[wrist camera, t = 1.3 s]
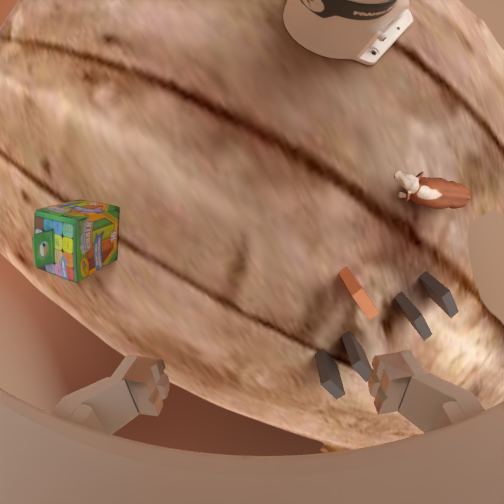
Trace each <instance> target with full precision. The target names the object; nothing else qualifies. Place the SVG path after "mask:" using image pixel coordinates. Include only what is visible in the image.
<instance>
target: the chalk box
mask: <svg viewBox="0 0 504 504" xmlns="http://www.w3.org/2000/svg"><path fill="white" fill-rule="evenodd" d="M34 219H35V221H34V230H35V234H34V235H33V237H32V241H33V253H34V263H35V267H36V268H38V269H41V270H43V271H46V272H48V273H51V274H54V275H56V276H59V277H62V278H64V279H67V280H70V281H73V282H75V283H79V282H80V281H81V280H83V279H84V278H86V277H88V276H89V275H91V274H92V273H94V272H96V271H97V270H99V269H101V268H102V267H104V266H106V265H107V264H109V263H111V262H112V261H114V260H116V259H117V239H118V221H119V207H117V206H112V205H107V204H102V203H96V202H90V201H85V200H76V201H71V202H66V203H62V204H57V205H53V206H49V207H45V208H41V209H37V210H36V212H35V218H34Z"/></svg>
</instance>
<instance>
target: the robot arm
mask: <svg viewBox="0 0 504 504" xmlns="http://www.w3.org/2000/svg"><path fill="white" fill-rule="evenodd" d="M409 5H410V2H409V0H287V2H286V5H285V8H284V11H283V20H284V24H285V27H286V29H287V31H288V32H289V34H290V35H291V36H292V37H293V38H294V40H296V41H297V42H298V43H299V44H300V45H302V46H303V47H305V48H306V49H308V50H310V51H312V52H314V53H316V54H319V55H322V56H325V57H329V58H336V59H352V60H355V61H358V62H360V63H363V64H366V65H374V64H375V63H376V62H377V61H378V60H379V59H380V58H381V57H382V56H383V54H384V53H385V52H386V51H387V50H388V49H389V48H390V47H391V46H392V45H393V43H394V42H395V41H396V40H397V39H398V38H399V37H400V36H401V35H402V34H403V33H404V31H405V30H406V29H407V28H408V27H409V26H410V25H411V24H412V22H413V17H412V15H411V13H410V11H409V9H408V7H409ZM371 52H373V53H374V54H375V55H373V54H372V53H371ZM372 366H373V368H374V369H373V370H372V371H371V372H370V375H369V381H368V386H369V391H370V394H371V395H372V396H373V397H375V401H374V404H375V407H376V410H377V412H378V414H384V413H390V412H396V411H398V412H399V413H400V414H401V415H403V416H404V417H405V418H406V419H408V420H409V421H410V422H411V423H413V424H414V425H415V426H417V427H418V428H419V429H421V430H422V431H423V432H424V434H420V435H417V436H413V437H410V438H406V439H402V440H398V441H394V442H390V443H385V444H381V445H376V446H370V447H365V448H359V449H353V450H347V451H339V452H331V453H322V454H310V455H295V456H237V455H220V454H210V453H200V452H192V451H184V450H178V449H172V448H165V447H161V446H155V445H151V444H146V443H141V442H136V441H133V440H129V439H124V438H121V437H117V436H114V435H112V434H113V433H114V432H116V431H117V430H119V429H120V428H121V427H123V426H124V425H125V424H126V423H128V422H129V421H131V420H132V419H133V418H135V417H136V416H137V415H139V413H140V414H146V415H153V416H159V413H160V411H161V409H162V406H163V403H162V400H163V399H165V398H166V397H167V395H168V392H169V379H168V376H167V375H166V374H165V373H164V372H163V371H164V369H165V365H164V361H163V360H162V359H156V358H149V357H141V356H133V355H128V356H126V357H125V358H124V360H123V361H122V362H121V364H120V365H119V367H118V368H117V369H116V371H115V372H114V373H113V375H112V376H111V377H106V378H104V379H102V380H100V381H98V382H96V383H93V384H91V385H89V386H87V387H85V388H82V389H80V390H78V391H76V392H73V393H71V394H69V395H67V396H64V397H63V398H62V400H61V401H60V402H59V403H58V405H57V406H56V407H55V409H54V410H53V411H52V412H51V413H48V412H46V411H44V410H42V409H39V408H37V407H35V406H33V405H31V404H29V403H27V402H25V401H22V400H21V399H19V398H17V397H15V396H13V395H11V394H9V393H8V392H6V391H4V390H3V389H1V388H0V504H504V402H502V403H500V404H498V405H496V406H494V407H491V408H489V409H487V410H485V409H484V408H483V406H482V405H481V404H480V402H479V401H478V399H477V398H476V397H475V395H474V394H473V393H472V392H470V391H468V390H465V389H463V388H461V387H459V386H457V385H454V384H452V383H450V382H448V381H446V380H444V379H442V378H439V377H437V376H435V375H433V374H431V373H425V371H424V370H423V368H422V367H421V365H420V364H419V362H418V361H417V359H416V358H415V356H414V355H413V353H412V352H411V351H410V350H406V351H401V352H397V353H391V354H385V355H377V356H374V358H373V362H372Z"/></svg>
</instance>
